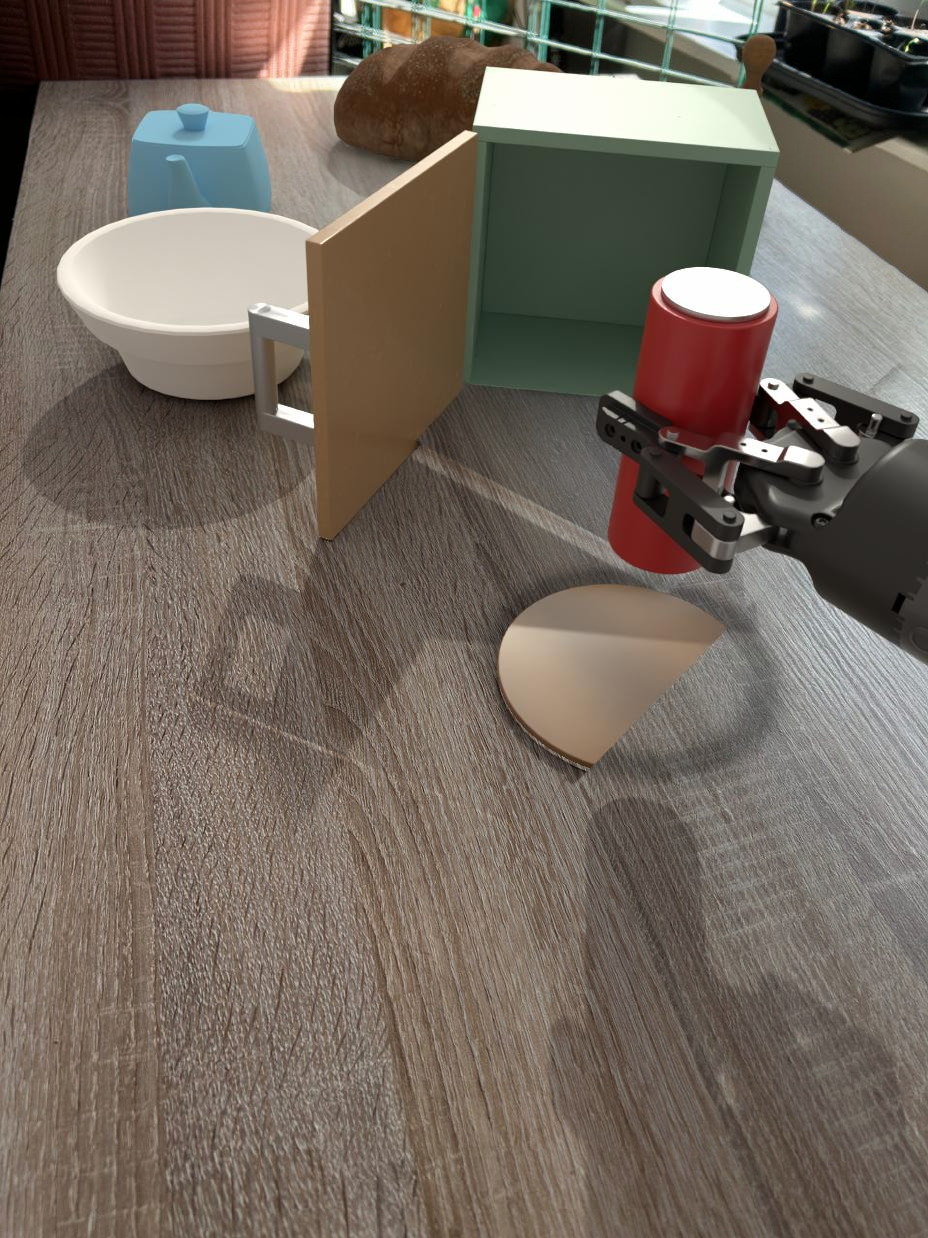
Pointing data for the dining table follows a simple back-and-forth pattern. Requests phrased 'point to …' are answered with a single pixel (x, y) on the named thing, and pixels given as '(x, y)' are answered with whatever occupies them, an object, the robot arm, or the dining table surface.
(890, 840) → the dining table surface
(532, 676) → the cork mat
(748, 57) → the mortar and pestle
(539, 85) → the green cabinet
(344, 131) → the bread
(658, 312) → the can
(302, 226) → the bowl
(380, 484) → the wooden cabinet door
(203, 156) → the teapot
